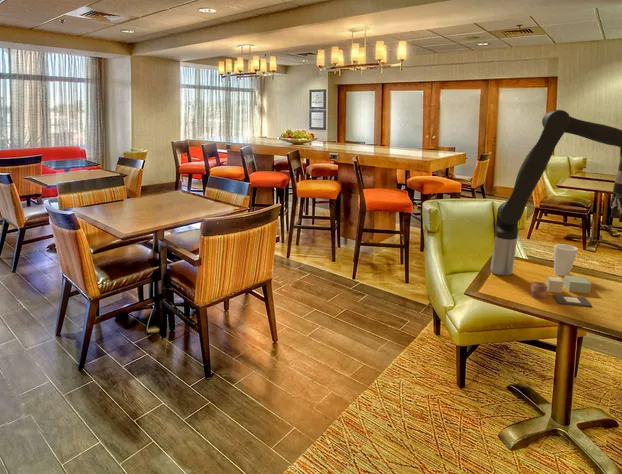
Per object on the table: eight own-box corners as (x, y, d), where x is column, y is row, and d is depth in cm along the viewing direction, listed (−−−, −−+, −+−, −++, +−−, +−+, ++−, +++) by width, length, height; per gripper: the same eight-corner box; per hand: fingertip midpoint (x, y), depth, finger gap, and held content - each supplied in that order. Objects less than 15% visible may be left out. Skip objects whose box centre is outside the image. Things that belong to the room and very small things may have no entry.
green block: (568, 291, 194) (570, 281, 193) (563, 284, 202) (564, 275, 201) (589, 293, 193) (591, 283, 191) (583, 286, 200) (585, 276, 199)
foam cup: (577, 277, 210) (582, 250, 206) (556, 277, 210) (561, 250, 206) (566, 270, 219) (570, 244, 215) (546, 270, 219) (550, 243, 215)
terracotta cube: (532, 297, 188) (534, 286, 187) (529, 292, 193) (531, 281, 191) (545, 298, 187) (547, 287, 186) (542, 293, 192) (544, 282, 190)
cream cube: (548, 291, 194) (550, 280, 192) (545, 287, 198) (547, 276, 197) (561, 293, 193) (563, 281, 191) (558, 288, 197) (559, 277, 196)
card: (558, 303, 182) (558, 302, 182) (552, 295, 189) (552, 294, 189) (591, 306, 179) (592, 305, 179) (584, 298, 187) (585, 297, 187)
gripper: (608, 179, 201) (601, 215, 205) (622, 184, 187) (614, 223, 192) (628, 180, 199) (620, 216, 204) (643, 185, 186) (634, 224, 190)
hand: (617, 219), depth 198 cm, fingers open, 8 cm apart
